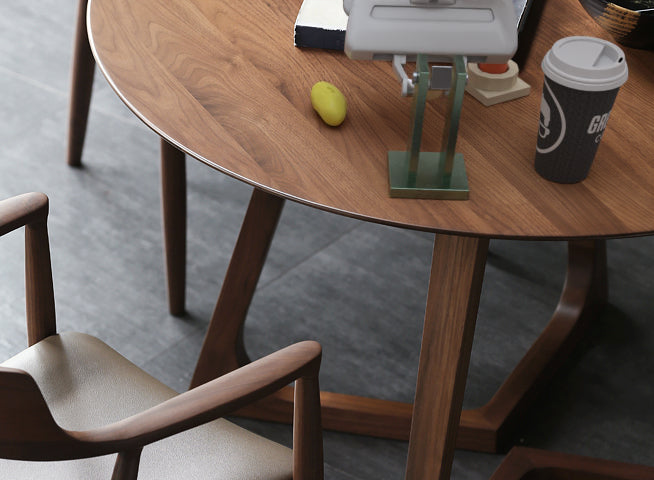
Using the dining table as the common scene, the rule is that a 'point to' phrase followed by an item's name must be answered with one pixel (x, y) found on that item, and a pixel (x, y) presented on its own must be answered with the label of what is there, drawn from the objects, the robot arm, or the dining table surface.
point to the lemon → (329, 103)
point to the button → (493, 68)
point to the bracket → (431, 167)
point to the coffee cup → (576, 105)
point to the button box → (495, 84)
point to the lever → (438, 81)
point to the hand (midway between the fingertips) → (429, 96)
